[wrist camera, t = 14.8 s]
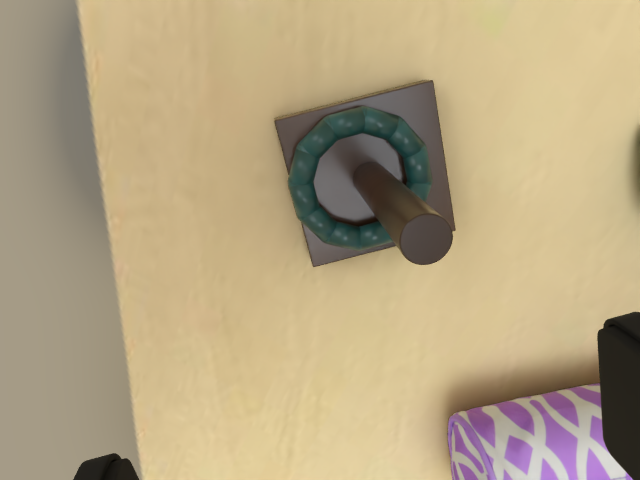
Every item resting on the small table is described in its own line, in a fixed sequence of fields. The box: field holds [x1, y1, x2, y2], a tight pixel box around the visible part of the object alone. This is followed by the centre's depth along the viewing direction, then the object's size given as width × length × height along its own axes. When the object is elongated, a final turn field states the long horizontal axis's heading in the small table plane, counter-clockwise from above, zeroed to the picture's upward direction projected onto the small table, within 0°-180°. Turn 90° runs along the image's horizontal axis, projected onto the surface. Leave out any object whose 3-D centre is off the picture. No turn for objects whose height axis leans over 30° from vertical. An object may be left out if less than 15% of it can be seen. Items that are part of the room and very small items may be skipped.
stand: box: [275, 80, 455, 267], centre depth 24 cm, size 9×9×12 cm
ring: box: [288, 106, 433, 251], centre depth 27 cm, size 8×8×1 cm
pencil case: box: [448, 383, 633, 480], centre depth 32 cm, size 22×9×10 cm, turn 99°
